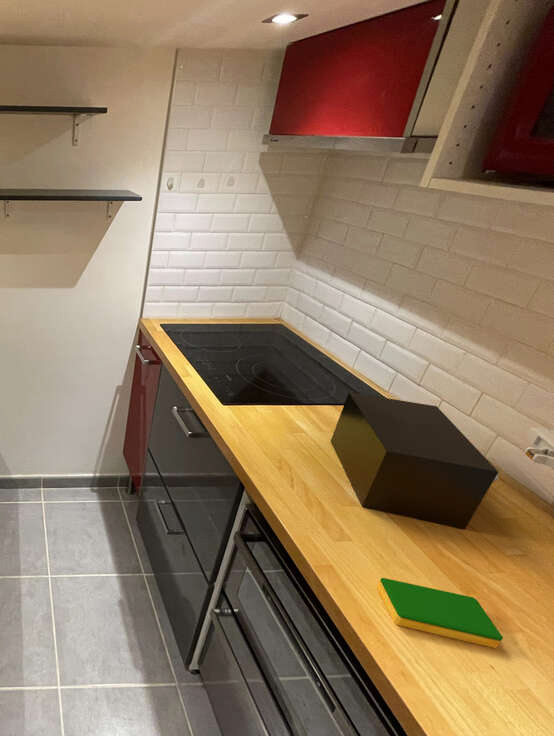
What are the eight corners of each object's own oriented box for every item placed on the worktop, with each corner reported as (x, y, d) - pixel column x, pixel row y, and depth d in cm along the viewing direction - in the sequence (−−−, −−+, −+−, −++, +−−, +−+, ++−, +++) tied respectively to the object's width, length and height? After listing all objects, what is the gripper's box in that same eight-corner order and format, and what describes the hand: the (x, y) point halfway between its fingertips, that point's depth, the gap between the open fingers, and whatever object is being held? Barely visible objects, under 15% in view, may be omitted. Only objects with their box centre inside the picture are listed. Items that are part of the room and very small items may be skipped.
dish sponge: (375, 586, 79) (380, 576, 78) (469, 606, 75) (475, 597, 74) (394, 624, 72) (399, 615, 71) (498, 649, 69) (505, 639, 68)
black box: (421, 458, 111) (446, 407, 104) (476, 532, 90) (511, 474, 84) (330, 441, 116) (348, 392, 110) (361, 507, 95) (386, 451, 89)
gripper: (584, 426, 95) (504, 414, 99) (678, 492, 78) (576, 474, 81) (569, 450, 98) (491, 437, 102) (656, 519, 80) (558, 500, 84)
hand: (529, 454), depth 91 cm, fingers closed
